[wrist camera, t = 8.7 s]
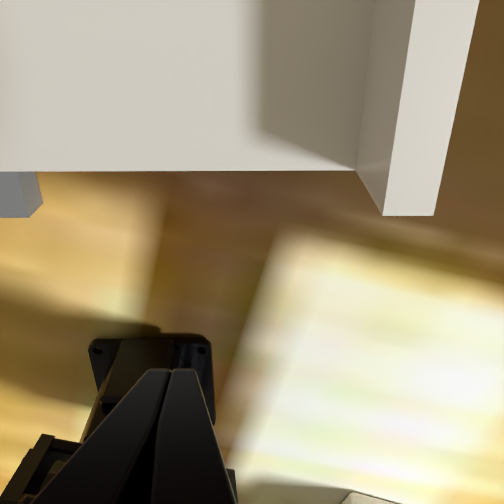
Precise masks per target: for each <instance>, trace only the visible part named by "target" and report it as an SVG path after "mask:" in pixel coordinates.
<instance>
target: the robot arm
mask: <svg viewBox="0 0 504 504" xmlns="http://www.w3.org/2000/svg"><path fill="white" fill-rule="evenodd" d="M199 347H204V348H205V349H200V348H199ZM97 348H100V349H102V350H99V349H97ZM88 352H89V356H90V360H91V364H92V369H93V373H94V377H95V381H96V385H97V390H98V394H97V397H96V400H95V402H94V405H93V408H92V410H91V413H90V415H89V418H88V421H87V423H86V426H85V429H84V431H83V434H82V436H81V439H80V442H79V443H78V442H72V441H67V440H62V439H56V438H55V436H52V435H47V434H42V435H41V436H40V438H39V440H38V441H37V443H36V445H35V446H34V448H33V449H31V448H30V449H29V451H28V452H27V454H26V456H25V457H24V458H23V460H22V462H21V464H20V465H19V467H18V468H17V470H16V472H15V473H14V475H13V477H12V478H11V480H10V481H9V483H8V485H7V486H6V488H5V489H4V491H3V493H2V494H1V496H0V504H238V500H237V490H236V481H235V471H234V470H233V469H227V468H226V467H225V464H224V461H223V457H222V454H221V451H220V448H219V445H218V441H217V438H216V435H215V432H214V428H213V425H214V424H215V419H216V412H215V396H214V379H213V363H212V346H211V343H210V342H209V341H208V340H206V339H202V338H180V339H95V340H93V341H92V342H91V344H90V346H89V348H88Z"/></svg>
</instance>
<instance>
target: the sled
mask: <svg viewBox="0 0 504 504" xmlns="http://www.w3.org/2000/svg"><path fill="white" fill-rule="evenodd" d="M478 4H479V0H0V172H18V171H273V170H356V172H357V174H358V175H359V177H360V179H361V180H362V182H363V184H364V185H365V187H366V189H367V191H368V192H369V194H370V196H371V197H372V199H373V201H374V202H375V204H376V206H377V207H378V209H379V211H380V212H381V214H382V216H433V214H434V210H435V205H436V200H437V196H438V191H439V186H440V182H441V177H442V172H443V168H444V163H445V158H446V154H447V149H448V144H449V139H450V135H451V130H452V125H453V121H454V116H455V111H456V107H457V102H458V97H459V93H460V88H461V83H462V79H463V74H464V69H465V65H466V60H467V55H468V51H469V46H470V41H471V37H472V32H473V27H474V22H475V18H476V13H477V8H478Z"/></svg>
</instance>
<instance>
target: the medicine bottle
mask: <svg viewBox="0 0 504 504" xmlns="http://www.w3.org/2000/svg"><path fill="white" fill-rule="evenodd" d="M341 504H395V503H391V502H388V501H384V500H381V499H377V498H373V497H370V496H366V495H362V494H359V493H355V492H352V493H350V494H349V495H348V496H347V498H346V499H345V500H344V501H343V502H342V503H341Z"/></svg>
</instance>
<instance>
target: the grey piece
mask: <svg viewBox="0 0 504 504" xmlns="http://www.w3.org/2000/svg"><path fill="white" fill-rule="evenodd" d="M42 204H43V201H42V197H41V193H40V189H39V185H38V181H37V177H36V173H35V171H18V172H0V218H29V217H30V216H31V215H32V214H33V213H34V212H35V211H36V210H37V209H38V208H39V207H40V206H41V205H42Z"/></svg>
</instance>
